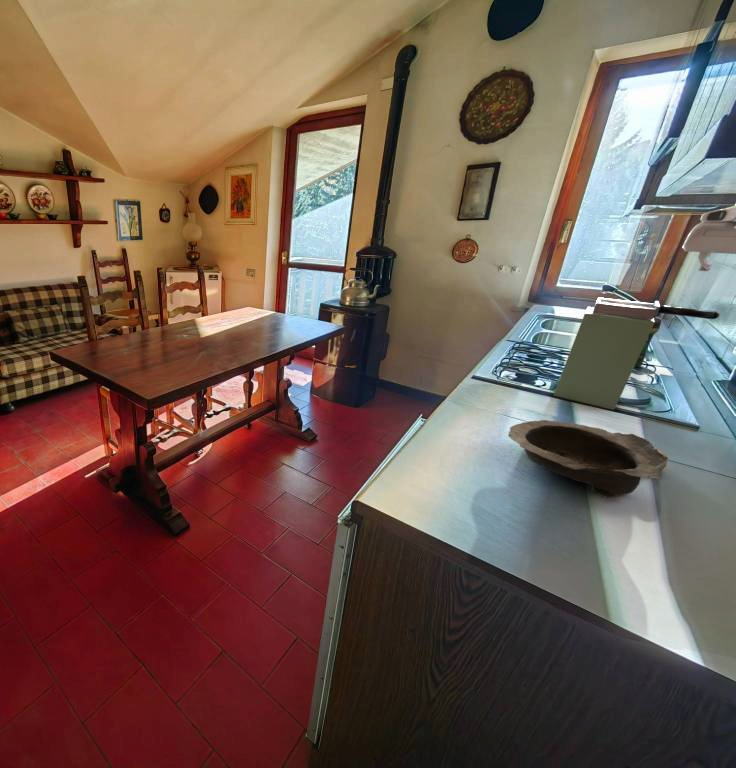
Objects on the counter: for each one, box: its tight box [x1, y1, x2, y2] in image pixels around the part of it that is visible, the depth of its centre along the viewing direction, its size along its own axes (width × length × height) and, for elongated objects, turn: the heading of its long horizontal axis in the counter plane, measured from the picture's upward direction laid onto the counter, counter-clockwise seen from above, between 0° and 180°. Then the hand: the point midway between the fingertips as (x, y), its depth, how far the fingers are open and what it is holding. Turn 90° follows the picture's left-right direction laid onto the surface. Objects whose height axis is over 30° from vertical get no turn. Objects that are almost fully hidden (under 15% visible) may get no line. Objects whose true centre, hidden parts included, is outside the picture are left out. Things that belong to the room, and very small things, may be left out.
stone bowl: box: [507, 419, 669, 498], centre depth 83 cm, size 25×25×9 cm
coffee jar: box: [634, 316, 662, 368], centre depth 145 cm, size 10×8×19 cm
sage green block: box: [552, 306, 655, 411], centre depth 115 cm, size 14×12×26 cm
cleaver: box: [593, 297, 720, 320], centre depth 105 cm, size 23×10×4 cm, turn 46°
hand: (730, 273), depth 99 cm, fingers open, 8 cm apart
